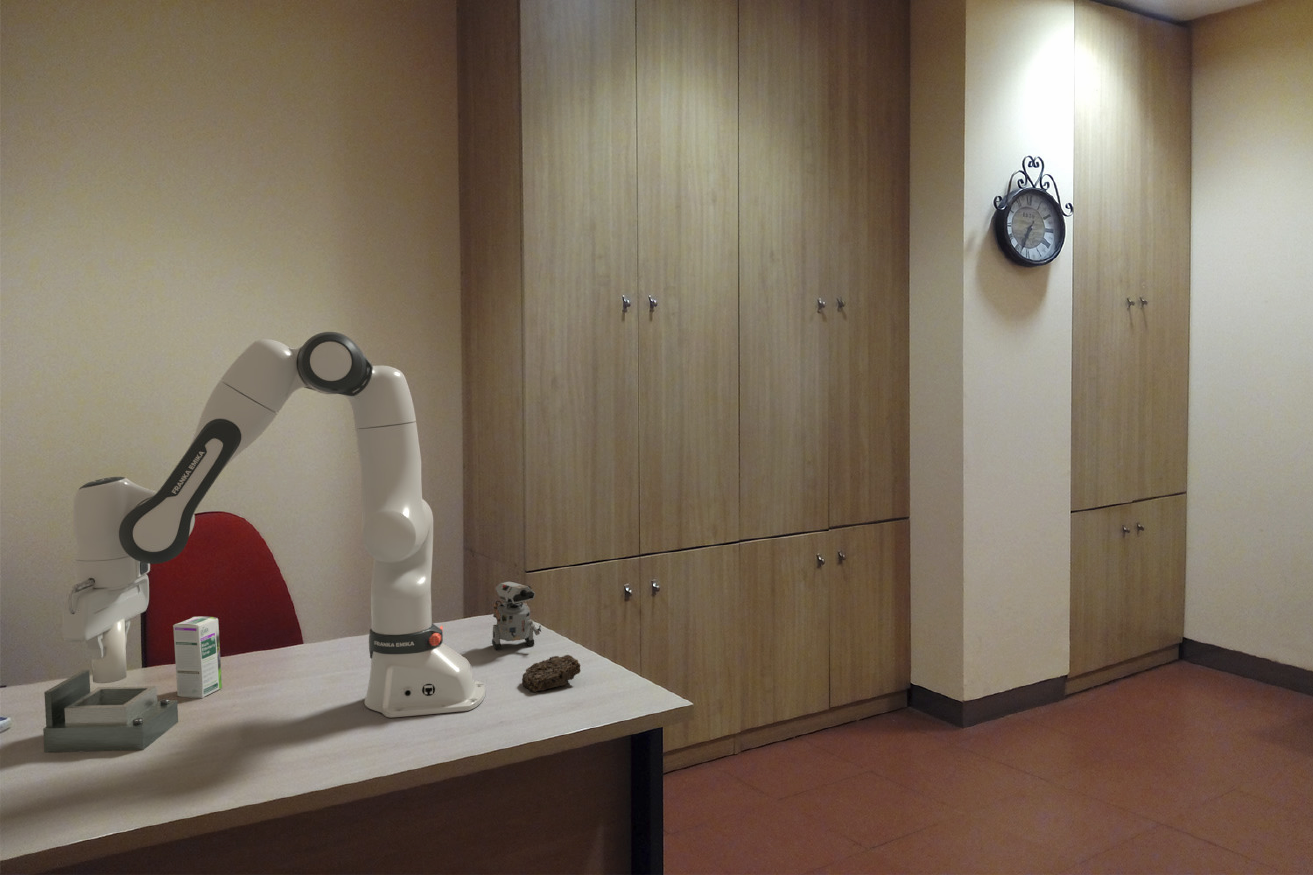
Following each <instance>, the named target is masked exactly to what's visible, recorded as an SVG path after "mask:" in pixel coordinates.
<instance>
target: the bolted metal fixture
mask: <svg viewBox="0 0 1313 875" xmlns="http://www.w3.org/2000/svg"><path fill="white" fill-rule="evenodd" d="M90 677H91V676H90V669H83V670H81V671H78V673H76V674H74V675H72V676H70V677H68V678H67V679H64V681H62V682H59V683H58V684H56V685H55V686H53V687H51V688H49V689H47V690H46V691H44V708H45V710H44V711H45V727H43V729H42V731H43V732H42V733H43V751H44V753H56V752H58V753H60V752H61V753H62V752H64V753H65V752H67V753H68V752H69V753H70V752H103V751H104V752H105V751H107V752H109V751H111V752H112V751H115V752H116V751H144V750H145V749H146V748H148V747H149V746H150V745H151V744H152V743H154V742H155V741H156V740H158V739H159V738H160V737H161V736H162V735H164V734H165V733H166V732H168V731H169V730H170V729H171V728H172V727H174V726H175V725H177V724H178V723H179V708H178V700H177V699H172V700H171V699H169V698H163V699H160V700H158V690H157V689H158V688H157V685H155V686H153V685H148V686H144V685H143V686H100V687H99V686H98V687H97V688H95V689H93V690H92V691H91V682H90V679H91V678H90Z"/></svg>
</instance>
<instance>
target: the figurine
mask: <svg viewBox="0 0 1313 875" xmlns="http://www.w3.org/2000/svg"><path fill="white" fill-rule="evenodd" d="M495 591H496V593H497V596H498V597H499V600H501V601H503V603H502V602H501V601H499V600H496V601H495V603H494V604H493V613H492V614H493V618H495V619H496V624H493V625H492V639H491V644H492V647H493V648H494V649H495V651H496V650H497V651H499V650H501V649H502V643H501V640H503V641H506V642H514V641H515V642H517V641H521V640H522V641H523V640H524V641H525V643H526V644H527V645H528V646H529V647H533V646H535V639H534V635H535V636H539V635H540V632H542V626H541V625H539V626H538V628H537V627H536V625H535V624H534V621H533V619H531V608H530V607H529V606H528V603H527V602H528V601H531V600H535V598H536V592H535V591H534V590H532V587H531V586H530V585H524V584H520V583H517V582H514V581H513V582H512V581H504V582H500V583H499V584H498V585H496V587H495ZM498 602H499V603H500V604H499V603H498Z"/></svg>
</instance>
